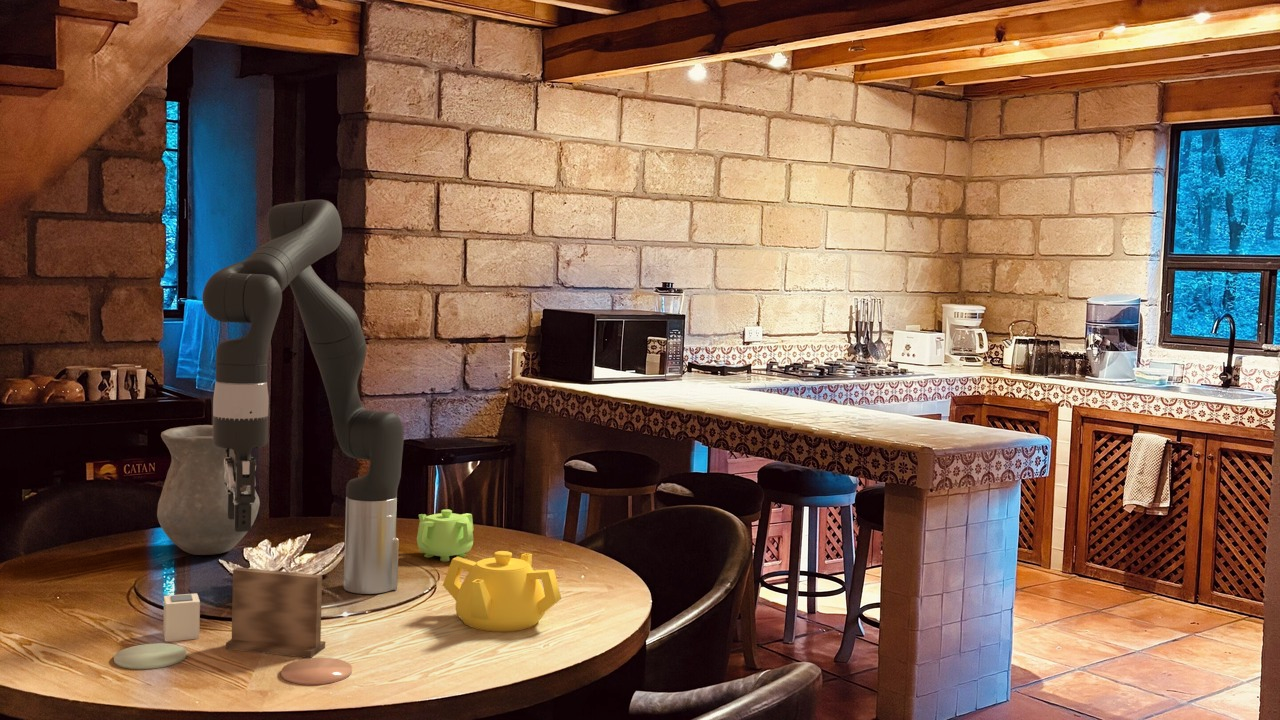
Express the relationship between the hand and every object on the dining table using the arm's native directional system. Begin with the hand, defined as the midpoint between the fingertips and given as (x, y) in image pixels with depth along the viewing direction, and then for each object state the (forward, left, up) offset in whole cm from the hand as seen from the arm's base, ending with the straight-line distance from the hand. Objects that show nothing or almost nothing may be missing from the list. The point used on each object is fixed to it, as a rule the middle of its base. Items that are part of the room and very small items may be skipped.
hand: (238, 524), depth 170 cm
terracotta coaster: (-11, +3, -22) cm, 25 cm away
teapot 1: (-48, -60, -22) cm, 80 cm away
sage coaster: (+11, -11, -22) cm, 27 cm away
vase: (-3, -76, -22) cm, 79 cm away
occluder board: (-7, -10, -22) cm, 25 cm away
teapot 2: (-45, -14, -22) cm, 52 cm away
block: (+6, -21, -22) cm, 31 cm away
